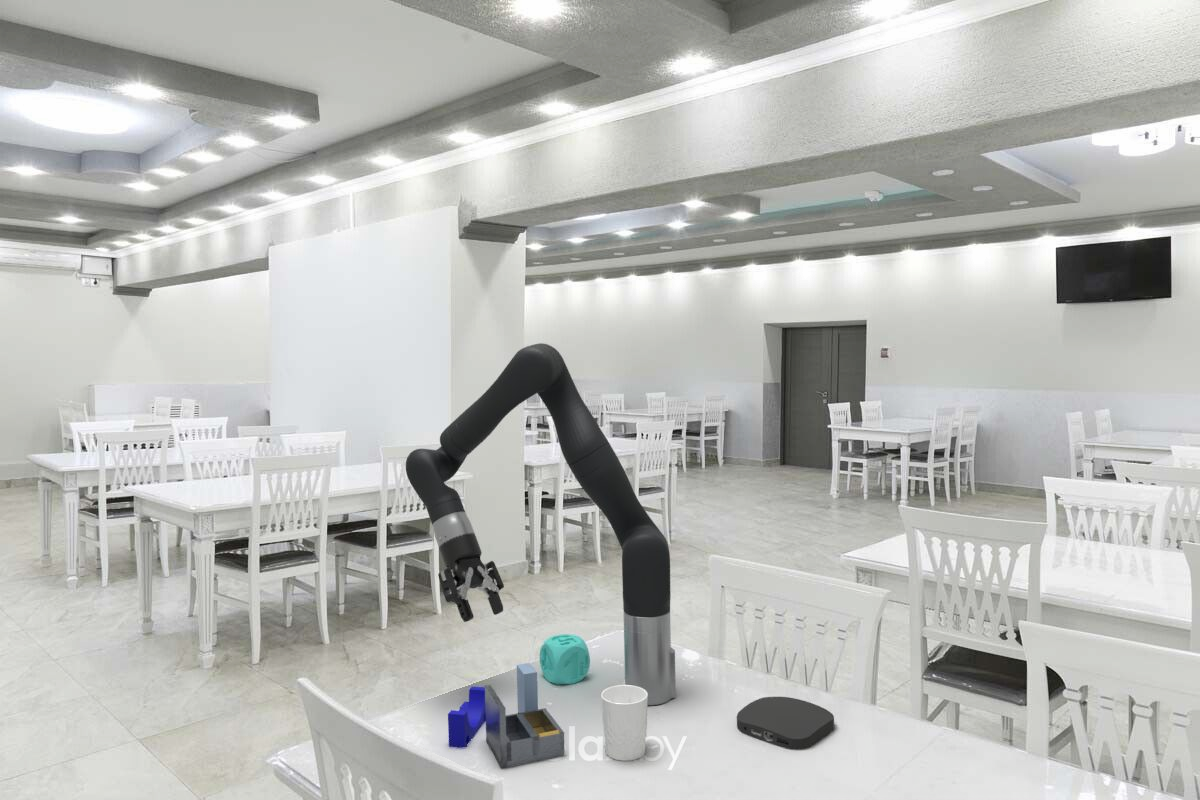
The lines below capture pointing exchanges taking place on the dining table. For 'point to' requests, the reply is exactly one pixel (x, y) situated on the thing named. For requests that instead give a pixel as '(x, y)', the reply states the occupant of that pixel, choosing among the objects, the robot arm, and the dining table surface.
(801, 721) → the media streaming box
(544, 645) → the decorative dice
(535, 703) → the light blue rectangular block
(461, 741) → the blue piece
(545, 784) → the dining table surface
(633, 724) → the white cup
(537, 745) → the grey compartment holder
